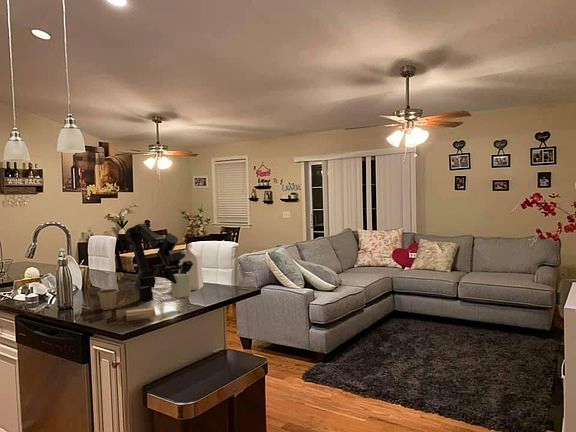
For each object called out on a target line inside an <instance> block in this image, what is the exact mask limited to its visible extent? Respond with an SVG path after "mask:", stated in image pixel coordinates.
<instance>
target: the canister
mask: <svg viewBox="0 0 576 432" xmlns="http://www.w3.org/2000/svg"><path fill="white" fill-rule="evenodd" d="M174 274H175V275H174ZM174 274H173V276H174V278H175V280H176V284H174V283H173V282H171V281H170V283H171V285H170V286H171V297H174V298H177V297H178V298H179V299H180V298H185V297H184V296H188V297H190V296H189V287H188V274H182V273H180V274H179V273H174ZM178 298H177V299H178Z"/></svg>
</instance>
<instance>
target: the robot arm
mask: <svg viewBox="0 0 576 432" xmlns="http://www.w3.org/2000/svg"><path fill="white" fill-rule="evenodd" d="M124 235H125V238H126V240H127V242H128V243H129V244H130V245H131V246H132V251H133V254H134V258H135V263H136V266H137V269H138V273H137V276H136V281H135V284H134V289H135V290H136V291H137V292H138V293H137V297H138V299H137V300H136V302H142V303H144V302H145V303H146V302H149V301H152V300H154V299H155V297H154V294H153V288H155V287H156V286H155V285H156V278H159V277H161V278H164V279H166V280H168V281H169V282H170V283H171V282H173V283H174V284H176V280H175V278H174V276H173V275H174V274H173V273H172V272H173V271H179V270H180V273H182V274H187V272H188V271H189V270H190V269H191V267H192V265H193V263H192V261H184V262H183V264H182V265H179V263H180V260H181V259H183V258H184V257H185V253H184V252H183V251H184V250H180V251H178V252H172V251H173V250H174V249H175V247H176V245H177V243H178V242H179V239H178V237H177V236H175V235H174V234H171V233H166V235H163V234H157V233H156V232H155V231H154V230H152V229H151V228H149V226H148V225H147V224H146V223H138V224H135V225H134V226H131V227H129V228H127V229H126V230H125V232H124ZM144 238H145V239H146V240H147V241H149V246H150V247H151V248H152V249H154V250H157V253H156V257H157V258H158V257H160V259H161V261H162V262H161V264H158V265H156V267H155V269H154V270H153V269H150V268H149V266H148V263H147V262H148V261H147V258H146V256H145V255H146V254H145V251H144V247H143V244H142V243H143V239H144ZM180 273H179V272H178V274H180Z"/></svg>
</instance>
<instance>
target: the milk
mask: <svg viewBox="0 0 576 432" xmlns="http://www.w3.org/2000/svg"><path fill="white" fill-rule="evenodd" d="M182 251H183V252H184V253H185V257H184V258H183V259H181V260H180V263H179V264H178V265H182V264H183V262H184V261H192V263H193V265H192V267H191V269H190V270H189V271H188V272H187V273H189V274H190V291H196V290H197V291H199V290H200V289H202V288H203V286H204V277H203V275H204V274H203V268H202V267H203V265H202V257H201V254H200V253H199V252H198V251H196V250H195V249H194V248H193V244H192V243H187V244H186V249H184V250H182ZM179 273H180V270H178V274H179Z"/></svg>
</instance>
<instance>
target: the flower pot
mask: <svg viewBox="0 0 576 432" xmlns="http://www.w3.org/2000/svg"><path fill="white" fill-rule="evenodd" d="M118 292H119V290H118V289H117V288H109V289H102V290H98V291H96V293H97V294H98V297H99V302H100V308H101V310H104V311H107V310H114V309H115V308H116V306H117V305H116V304H117V296H118V295H117V294H118Z"/></svg>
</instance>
